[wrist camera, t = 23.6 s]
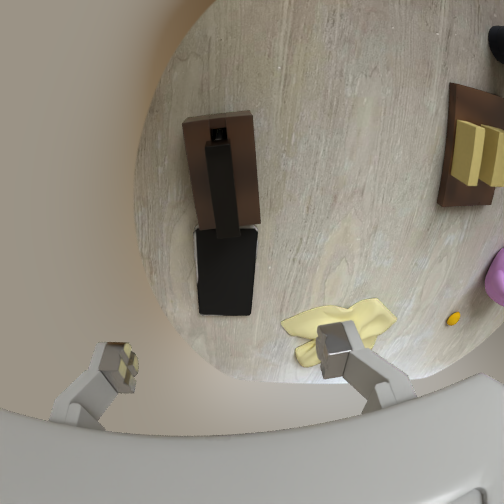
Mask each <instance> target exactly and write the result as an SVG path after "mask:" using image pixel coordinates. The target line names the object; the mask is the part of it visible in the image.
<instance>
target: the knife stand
mask: <svg viewBox="0 0 504 504" xmlns="http://www.w3.org/2000/svg"><path fill="white" fill-rule="evenodd" d="M222 127H226V129H227V138H228V139H229V138H230V140H231V150H232V160H233V169H234V179H235V188H236V197H237V207H238V216H239V225H240V226H244V225H254V224H261V219H260V205H259V192H258V178H257V165H256V152H255V139H254V126H253V115H252V113H251V112H250V110H248V111H237V112H227V113H218V114H211V115H203V116H196V117H189V118H187V119H186V120H185V121H184V122H183V123H182V128H183V134H184V141H185V148H186V154H187V161H188V167H189V173H190V179H191V185H192V191H193V197H194V202H195V208H196V214H197V219H198V225H199V230H207V229H216V226H215V219H214V213H213V206H212V199H211V192H210V186H209V179H208V171H207V164H206V157H205V149H204V147H205V144H206V141H211V140H214V138H213V130H212V129H214V128H222Z"/></svg>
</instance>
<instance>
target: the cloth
mask: <svg viewBox="0 0 504 504" xmlns="http://www.w3.org/2000/svg"><path fill="white" fill-rule="evenodd" d="M349 320H352V321H354V324H355V326H356V328H357V331H358V333H359V335H360V338H361V340H362V342H363V345H364V347H365V348H369V349H371V350H372V348H373V346H374V344H375V341H376V338H377V336H378V335H380V334H382V333H384V332H385V331H386V330H387V329H389V328H390V327H391V325H393V324H394V323H395V322H396V321H397V318H396V317H395V316H394V315H393V314H392V313H391V312H390V311H389V310H388V309H387V308H386V307H385V306H384V305H383V304H382V303H381V302H380V301H379V300H378V299H377V298H372V299H366V300H362V301H360V302H357V303H356V304H354V305H353V306H351V307H350V308H348V309H346V308H341V307H337V306H332V305H328V306H322V307H317V308H314V309H310V310H308V311H305V312H302V313H300V314H298V315H296V316H293V317H291V318H289V319H286V320H284V321H282V322H281V324H282V326H283V327H284V329H285V330H286V331H287V332H288V333H289V334H290V335H291V336H299V337H303V338H307V339H313V340H312V341H310V342H308V343H306V344H304V345H301V346H299V347H297V348H296V349H295V351H296V352H295V353H296V358H297V360H298V362H299V363H300V365H301V366H303V367H312V366H314V365H317V364H319V363H321V361H320V360H319V359H318V357H317V353H316V338H317V337H318V334H317V327H318V326H319V325H325V324H330V323H336V322H343V321H349Z"/></svg>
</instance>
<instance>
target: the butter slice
mask: <svg viewBox="0 0 504 504" xmlns="http://www.w3.org/2000/svg"><path fill="white" fill-rule="evenodd" d="M484 137H485V128H482V127H480V126H477V125H475V124H472V123H470V122H467V121H462V120H457V126H456V137H455V146H454V155H453V162H452V169H451V175H452V176H453V177H455V178H457V179H458V180H460V181H461V182H463V183H464V184H466V185H467V186H477V183H478V177H479V172H480V166H481V160H482V153H483V146H484Z"/></svg>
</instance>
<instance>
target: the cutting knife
mask: <svg viewBox="0 0 504 504" xmlns="http://www.w3.org/2000/svg"><path fill="white" fill-rule="evenodd" d="M204 149H205V157H206V164H207V171H208V179H209V186H210V192H211V199H212V206H213V213H214V219H215V226H216V232H217V238H218V239H221V238H230V237H239V236H240V225H239V216H238V207H237V197H236V188H235V179H234V169H233V160H232V150H231V140H230V138H229V139H223V132H222V128H220V129H218V130H217V135H216V140H211V141H206V144H205V147H204Z"/></svg>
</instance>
